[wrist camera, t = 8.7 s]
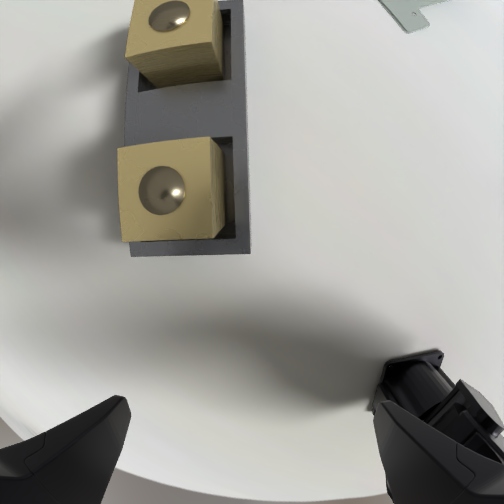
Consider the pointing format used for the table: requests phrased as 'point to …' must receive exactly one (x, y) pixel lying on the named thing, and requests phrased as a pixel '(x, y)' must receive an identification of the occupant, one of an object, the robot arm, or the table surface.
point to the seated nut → (172, 190)
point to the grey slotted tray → (201, 135)
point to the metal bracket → (408, 13)
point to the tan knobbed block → (177, 41)
